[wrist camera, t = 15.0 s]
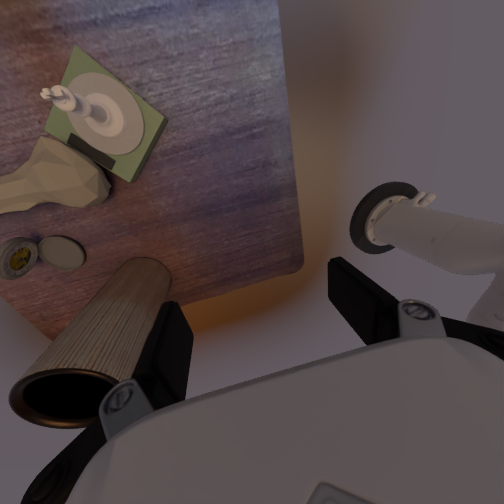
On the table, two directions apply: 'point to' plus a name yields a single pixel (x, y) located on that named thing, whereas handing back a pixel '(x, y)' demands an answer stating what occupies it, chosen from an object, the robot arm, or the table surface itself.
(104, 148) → the scale
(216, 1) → the table surface
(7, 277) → the pocket watch
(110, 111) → the chess piece
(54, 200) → the faceted club
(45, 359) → the planter
